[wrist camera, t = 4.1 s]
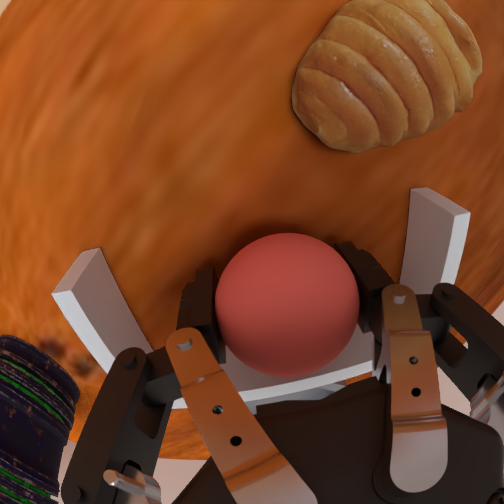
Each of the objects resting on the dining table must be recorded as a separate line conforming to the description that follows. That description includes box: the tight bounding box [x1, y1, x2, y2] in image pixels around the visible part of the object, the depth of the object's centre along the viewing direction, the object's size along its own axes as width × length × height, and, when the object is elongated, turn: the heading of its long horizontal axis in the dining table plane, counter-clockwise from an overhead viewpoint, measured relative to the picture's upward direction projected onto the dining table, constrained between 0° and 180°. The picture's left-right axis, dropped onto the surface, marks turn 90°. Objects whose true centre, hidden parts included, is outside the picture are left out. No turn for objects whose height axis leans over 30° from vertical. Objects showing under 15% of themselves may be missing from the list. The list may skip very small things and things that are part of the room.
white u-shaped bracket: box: [52, 187, 471, 409], centre depth 13 cm, size 18×9×4 cm, turn 99°
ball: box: [215, 233, 360, 377], centre depth 10 cm, size 6×6×6 cm
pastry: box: [292, 0, 482, 153], centre depth 8 cm, size 9×7×4 cm
